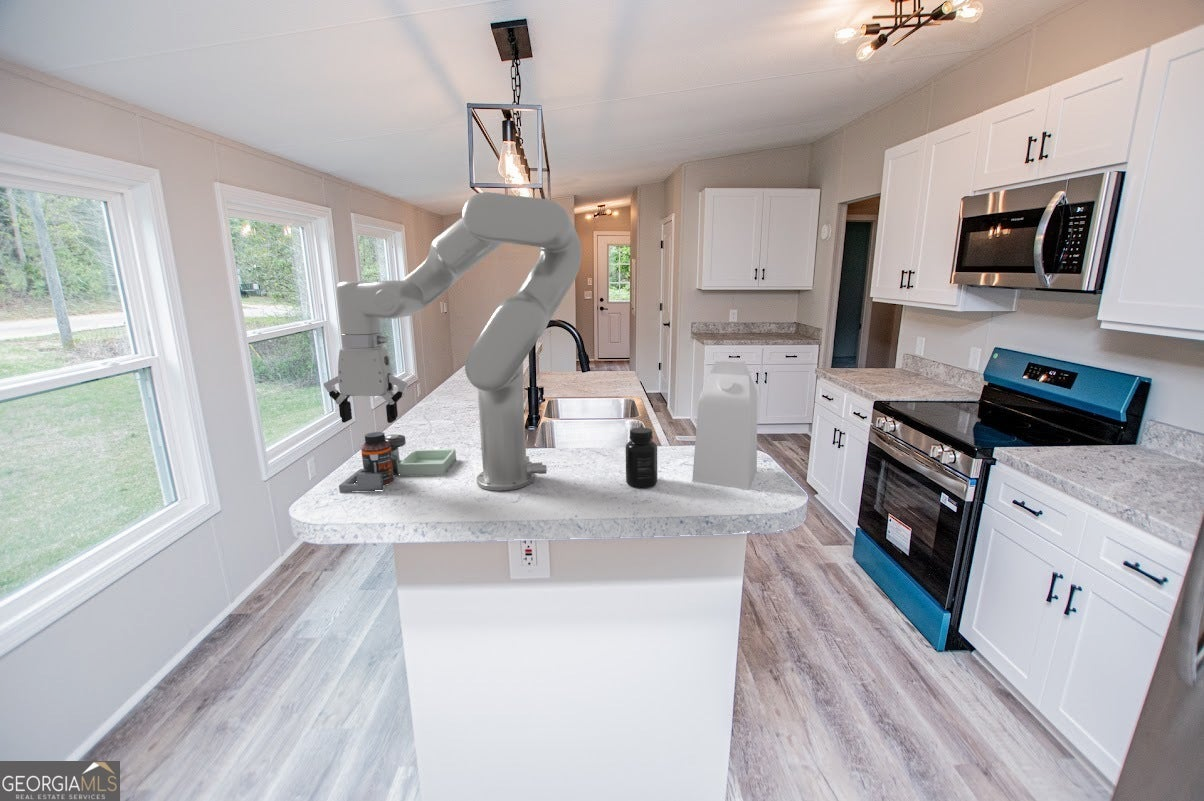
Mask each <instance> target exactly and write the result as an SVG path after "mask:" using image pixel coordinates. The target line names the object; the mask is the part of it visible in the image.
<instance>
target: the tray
mask: <svg viewBox="0 0 1204 801" xmlns="http://www.w3.org/2000/svg"><path fill="white" fill-rule="evenodd" d="M456 453H457V452H456V449H419V450H418V449H413V451H412V452H411V453H409V455H407V456H406V457H405V458H404V459H402V462H401V463H400V464H399V473H400V475H399V476H400V477H415V476H417V477H418V476H421V475H423V477H424V476H425V475H427V476H445V475H446V474H445V473H447V472H448V471H449V470H450V469H451V467H452V466H453V465H454V464H453V463H456V461H457V455H456ZM452 464H453V465H452ZM449 468H450V469H449ZM448 469H449V470H448ZM421 477H422V476H421Z"/></svg>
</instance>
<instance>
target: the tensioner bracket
mask: <svg viewBox="0 0 1204 801" xmlns="http://www.w3.org/2000/svg"><path fill="white" fill-rule="evenodd" d="M392 465H393V469H394V470H393V473H394V477H399V476H400V475H399V474H400V473H399V461H398V458H392ZM356 481H357V482H356ZM355 482H356V483H355ZM354 483H355V484H354ZM383 489H384V490H385V486H383V477H382V472H364V469H363V468H360V469H358V470H357V471H356V472H355V473H353V474H352V475H350V476H349V477H348V478H346V480H344V481H343V482H342V483H340V484H339V485H338V490H339V493H353V492H352V491H375V490H383ZM384 490H383V491H384Z"/></svg>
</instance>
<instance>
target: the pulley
mask: <svg viewBox="0 0 1204 801" xmlns="http://www.w3.org/2000/svg"><path fill="white" fill-rule="evenodd" d="M385 440H386V441H387V442H389V443H390V446H391V454H392V458H398V461H399V464H400V463H401V462H402V461H403V459H400V453H399V452H400V450H399V448H401V447H404V446H405V445H406V444H407V442H406V436H405V435H403V434H394V433H393V434H388V435H385Z"/></svg>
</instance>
